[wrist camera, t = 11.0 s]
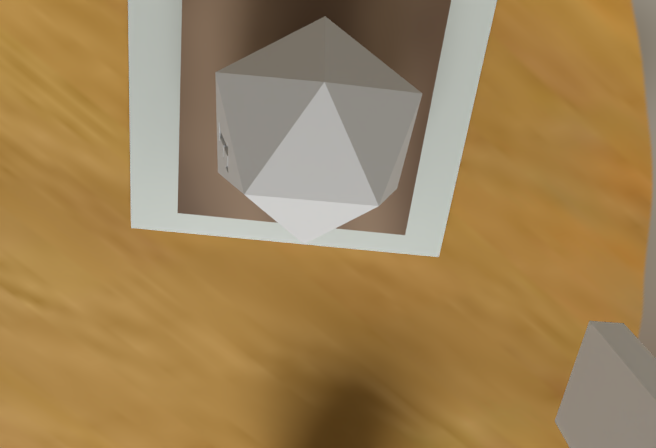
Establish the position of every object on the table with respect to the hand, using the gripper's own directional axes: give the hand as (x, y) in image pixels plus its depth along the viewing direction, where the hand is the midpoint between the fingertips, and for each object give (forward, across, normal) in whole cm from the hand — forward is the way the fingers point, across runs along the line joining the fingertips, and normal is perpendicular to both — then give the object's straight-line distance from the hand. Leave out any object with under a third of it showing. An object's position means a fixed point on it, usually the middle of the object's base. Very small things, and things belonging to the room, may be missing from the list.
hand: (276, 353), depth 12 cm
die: (+18, +1, +1) cm, 18 cm away
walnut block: (+24, +1, +1) cm, 24 cm away
